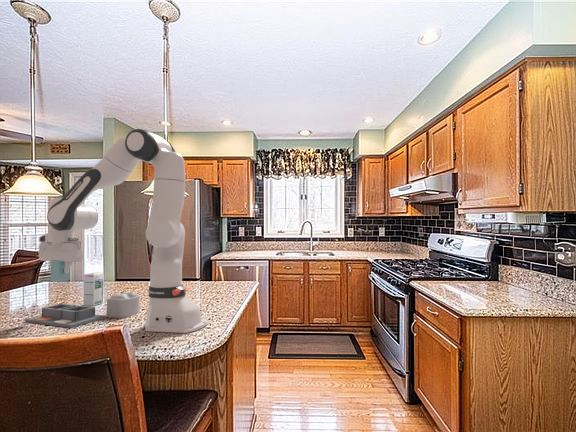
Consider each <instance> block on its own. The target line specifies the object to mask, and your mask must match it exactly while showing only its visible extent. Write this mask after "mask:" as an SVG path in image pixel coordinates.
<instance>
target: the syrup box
mask: <svg viewBox="0 0 576 432" xmlns="http://www.w3.org/2000/svg"><path fill="white" fill-rule="evenodd" d="M101 304H104V273H103V272H99V271H98V272H90V273H84V274H83V306H88V307H96V306H98V305H101Z"/></svg>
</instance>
